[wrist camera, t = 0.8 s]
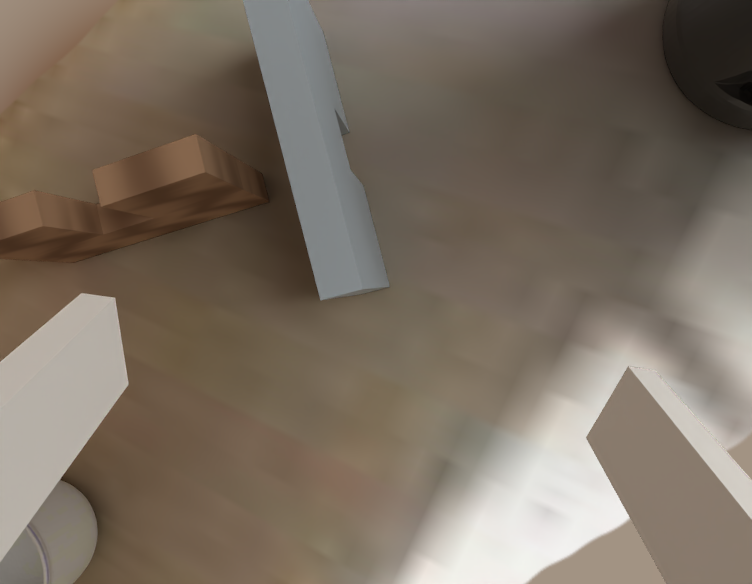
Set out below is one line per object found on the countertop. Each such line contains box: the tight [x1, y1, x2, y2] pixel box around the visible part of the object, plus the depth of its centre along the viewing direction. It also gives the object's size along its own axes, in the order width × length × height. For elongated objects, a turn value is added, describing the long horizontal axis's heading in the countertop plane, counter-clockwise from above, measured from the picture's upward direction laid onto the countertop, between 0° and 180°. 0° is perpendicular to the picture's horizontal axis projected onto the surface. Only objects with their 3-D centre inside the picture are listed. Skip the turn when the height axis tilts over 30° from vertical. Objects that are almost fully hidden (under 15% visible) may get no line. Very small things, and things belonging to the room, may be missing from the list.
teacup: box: [0, 480, 98, 584], centre depth 37 cm, size 14×11×8 cm
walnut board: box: [0, 134, 269, 263], centre depth 33 cm, size 20×2×10 cm, turn 105°
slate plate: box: [243, 0, 390, 300], centre depth 30 cm, size 2×22×12 cm, turn 15°
